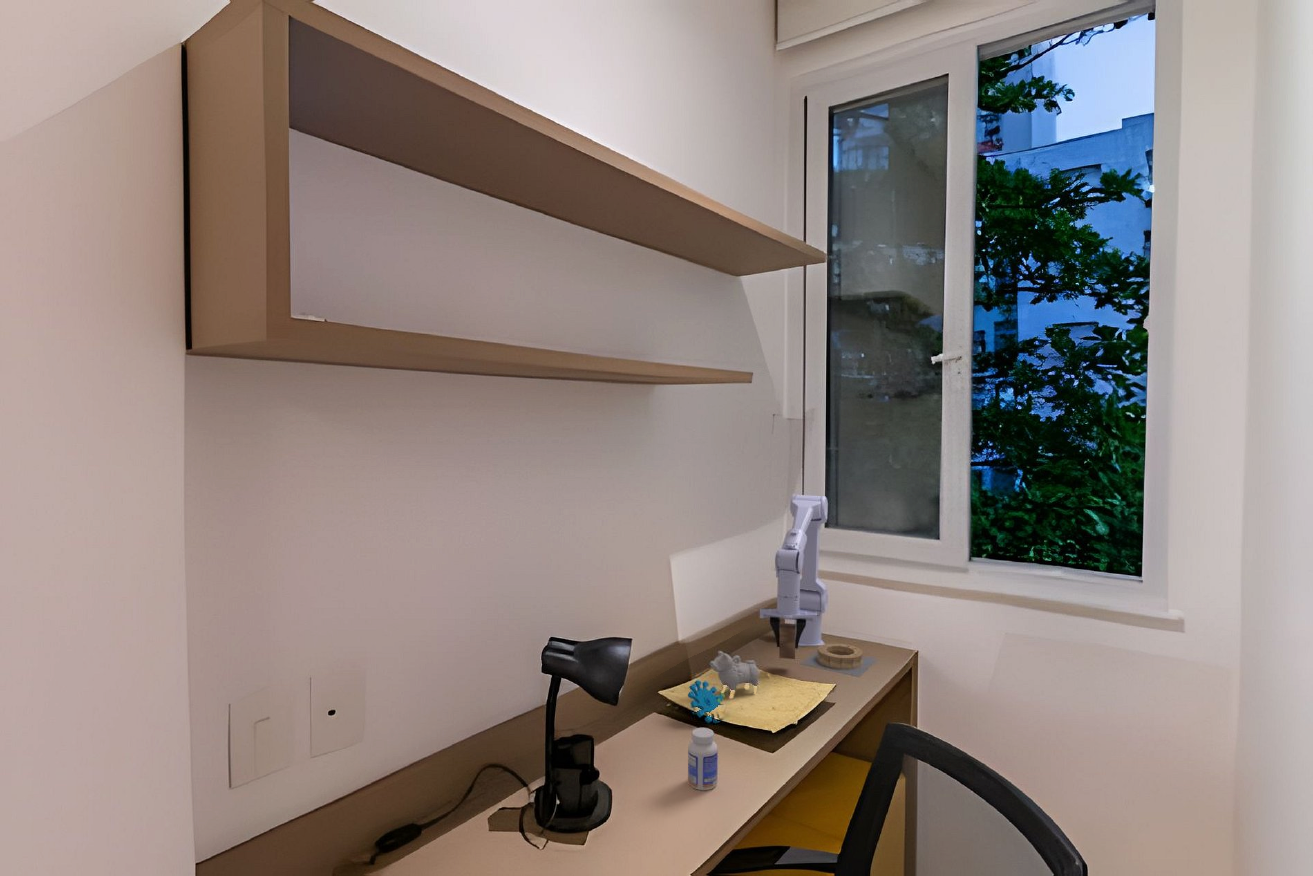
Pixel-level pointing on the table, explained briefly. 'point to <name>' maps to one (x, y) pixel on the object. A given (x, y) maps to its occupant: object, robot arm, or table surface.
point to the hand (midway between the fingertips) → (787, 646)
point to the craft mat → (855, 672)
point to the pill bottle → (702, 760)
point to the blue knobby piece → (705, 699)
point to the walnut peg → (787, 640)
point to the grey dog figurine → (735, 670)
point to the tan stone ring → (840, 656)
